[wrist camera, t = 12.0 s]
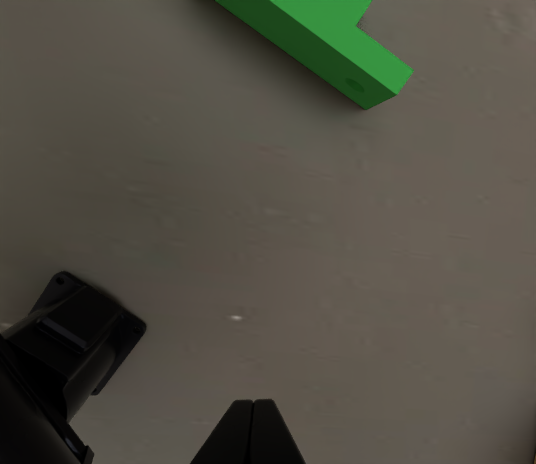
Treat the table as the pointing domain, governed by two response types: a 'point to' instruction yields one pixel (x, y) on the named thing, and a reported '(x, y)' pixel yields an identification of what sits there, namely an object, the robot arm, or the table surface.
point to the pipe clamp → (328, 44)
